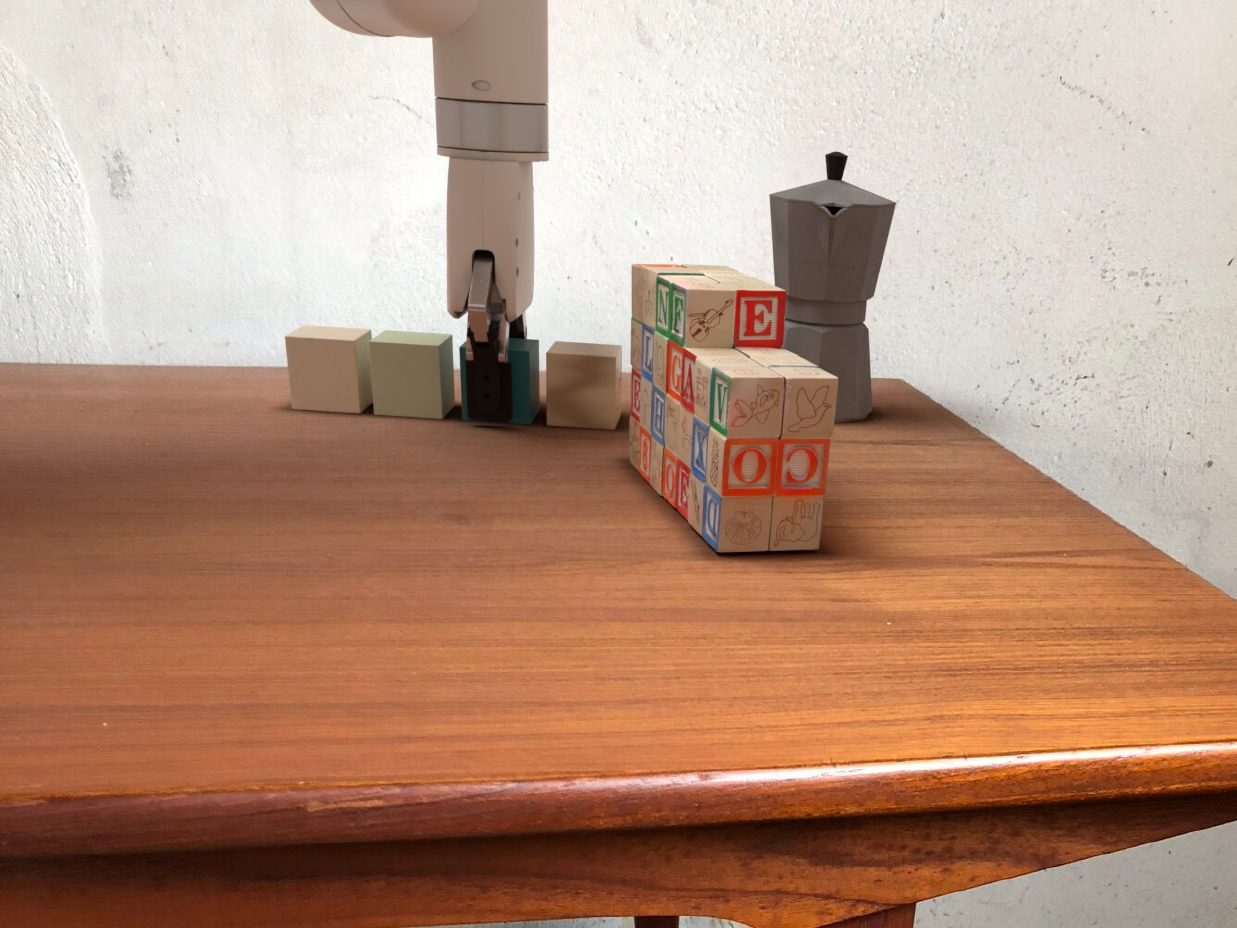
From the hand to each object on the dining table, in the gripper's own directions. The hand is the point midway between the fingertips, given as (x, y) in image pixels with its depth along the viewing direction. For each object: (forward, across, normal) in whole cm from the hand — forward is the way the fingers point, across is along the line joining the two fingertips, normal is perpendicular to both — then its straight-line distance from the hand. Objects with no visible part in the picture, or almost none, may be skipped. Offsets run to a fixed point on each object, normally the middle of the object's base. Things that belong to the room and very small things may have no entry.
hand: (499, 407), depth 103 cm
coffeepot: (+1, -10, +24) cm, 26 cm away
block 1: (+1, 0, -12) cm, 12 cm away
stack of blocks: (+1, +21, +17) cm, 27 cm away
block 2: (+1, 0, -6) cm, 6 cm away
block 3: (+1, 0, +6) cm, 6 cm away
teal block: (+1, 0, 0) cm, 1 cm away
